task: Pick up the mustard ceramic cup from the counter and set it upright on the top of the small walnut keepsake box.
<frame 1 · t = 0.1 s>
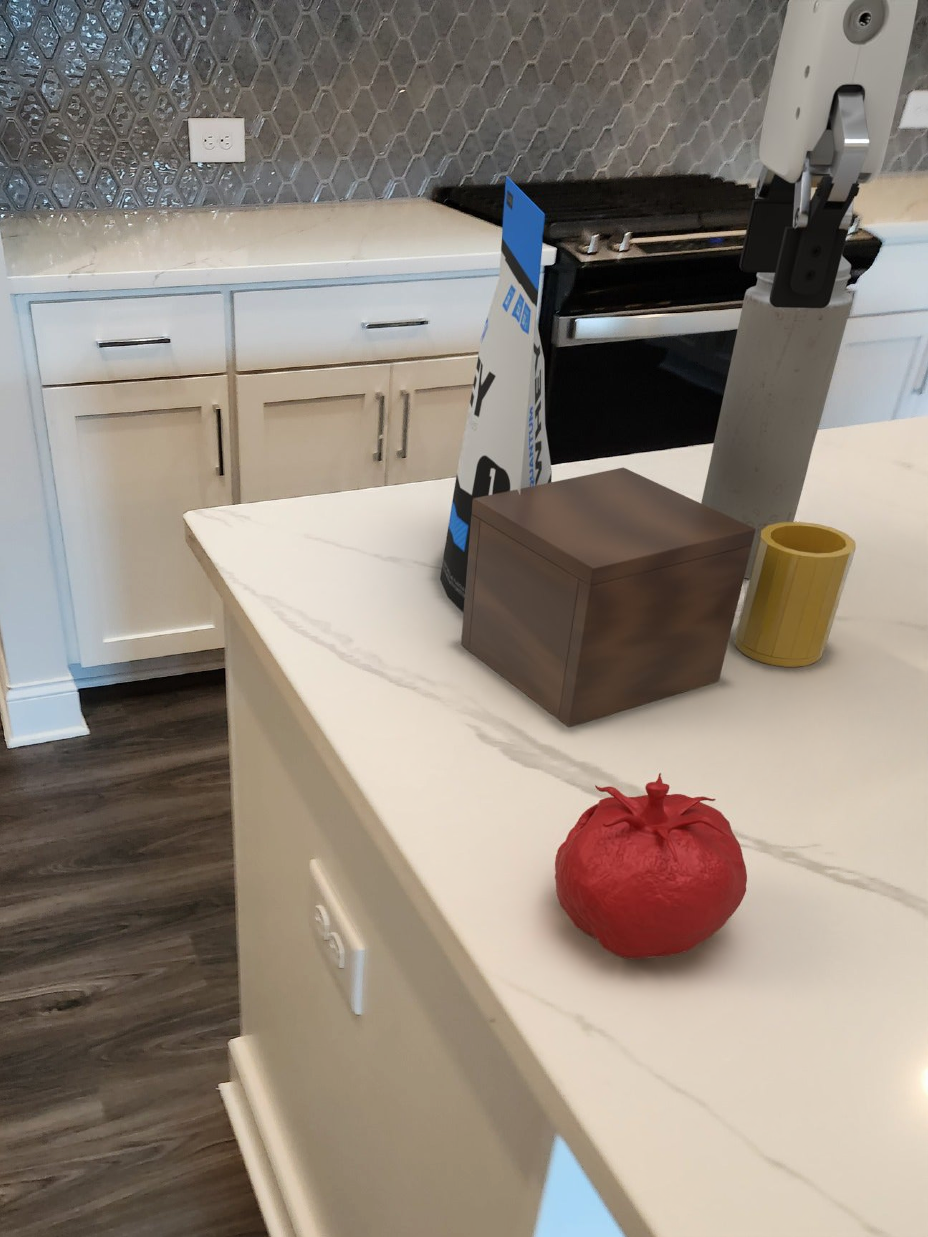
hand: (780, 287, 67), 27 cm above the countertop, tool pointing down, fingers open, 9 cm apart
protein powder: (493, 582, 98), on the countertop, touching walnut keepsake box
cup: (777, 646, 87), on the countertop
pomegranate: (635, 920, 62), on the countertop
walnut keepsake box: (585, 662, 85), on the countertop
thermos bottle: (735, 562, 100), on the countertop
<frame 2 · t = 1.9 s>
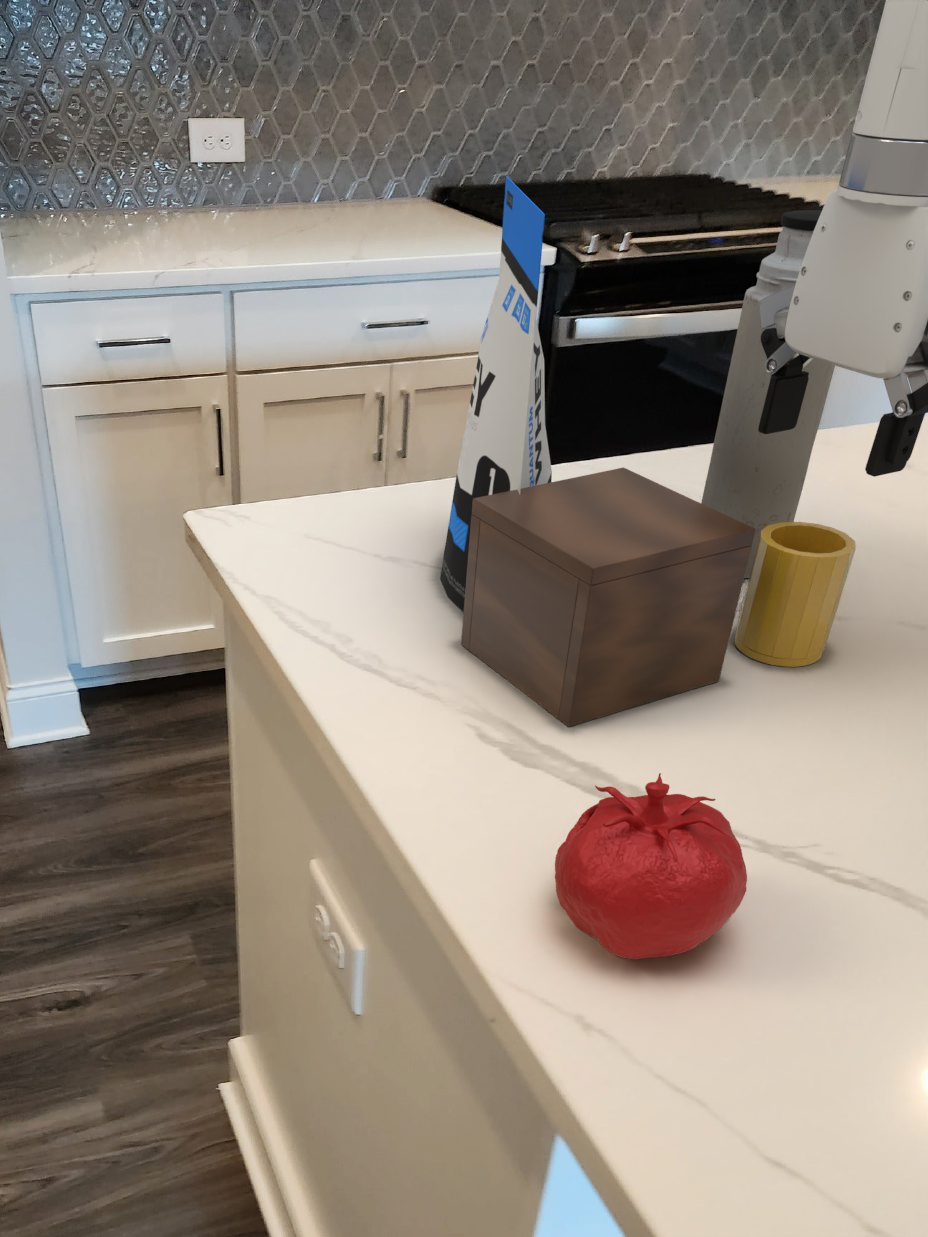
hand: (827, 450, 78), 16 cm above the countertop, tool pointing down, fingers open, 9 cm apart
nothing on the countertop moved.
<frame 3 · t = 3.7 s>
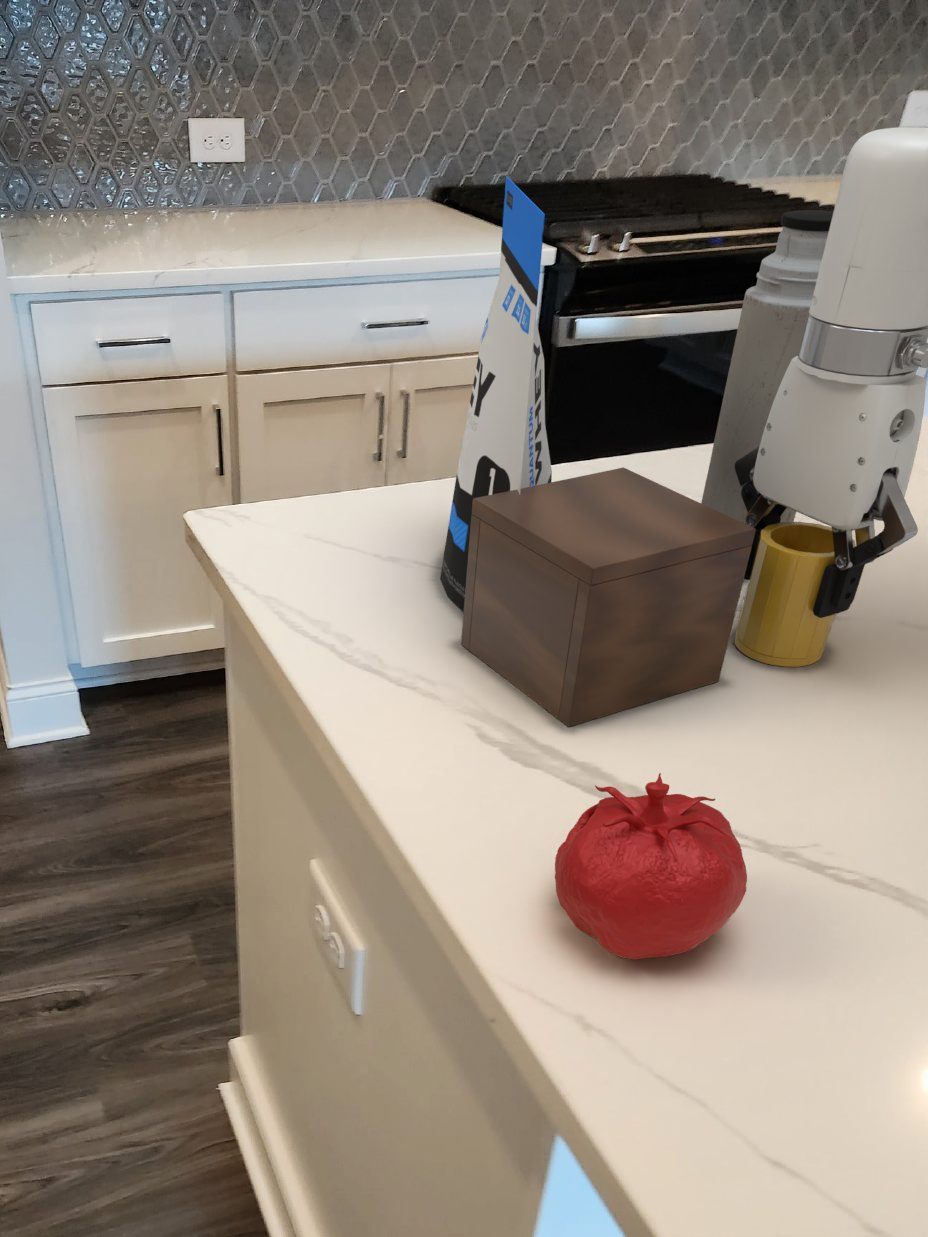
hand: (793, 591, 84), 5 cm above the countertop, tool pointing down, fingers closed on cup, 6 cm apart
cup: (777, 646, 87), on the countertop, touching gripper
everything else where it was.
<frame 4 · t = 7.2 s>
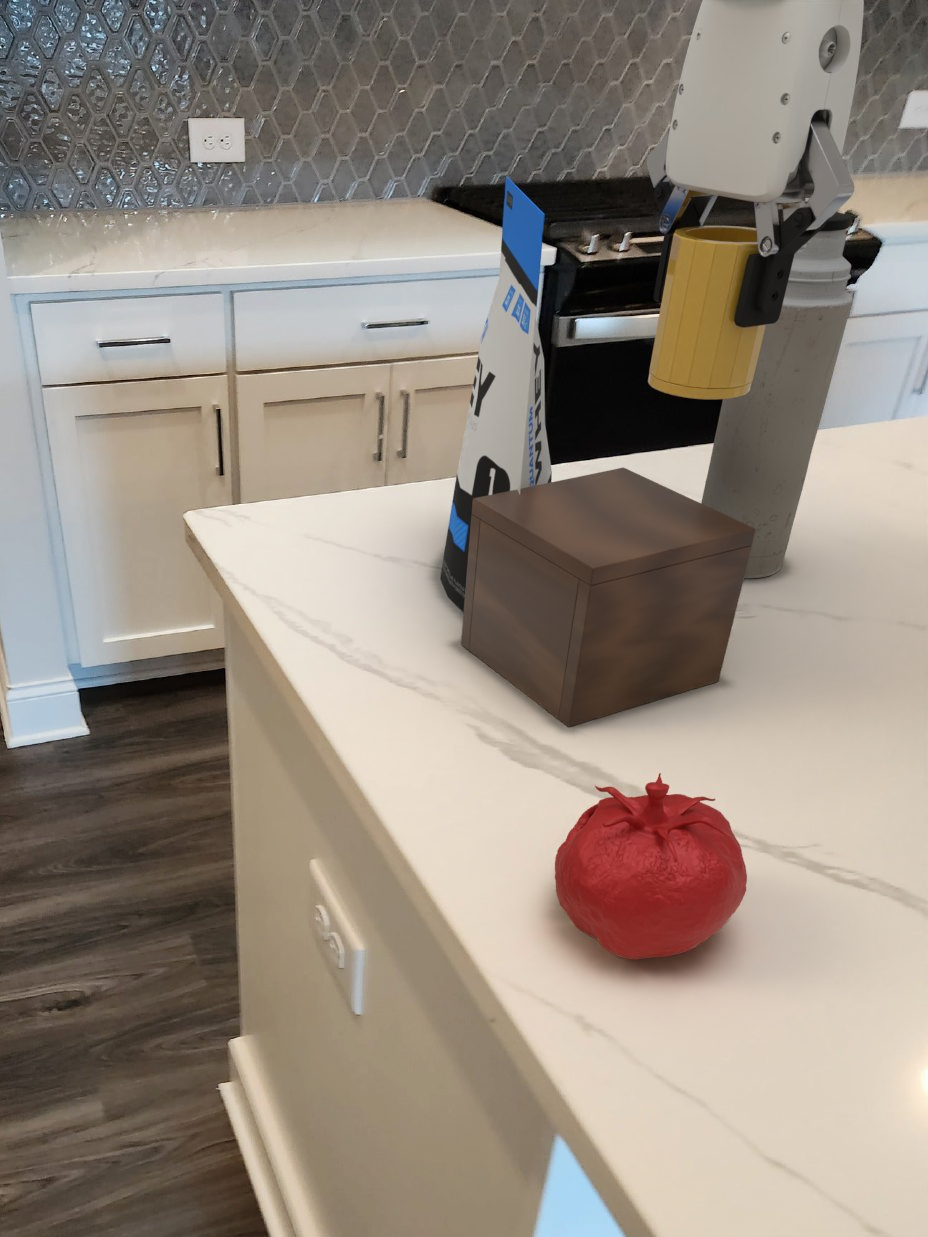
hand: (713, 309, 71), 25 cm above the countertop, tool pointing down, fingers closed on cup, 6 cm apart
cup: (698, 385, 74), point 21 cm above the countertop, touching gripper
everything else where it was.
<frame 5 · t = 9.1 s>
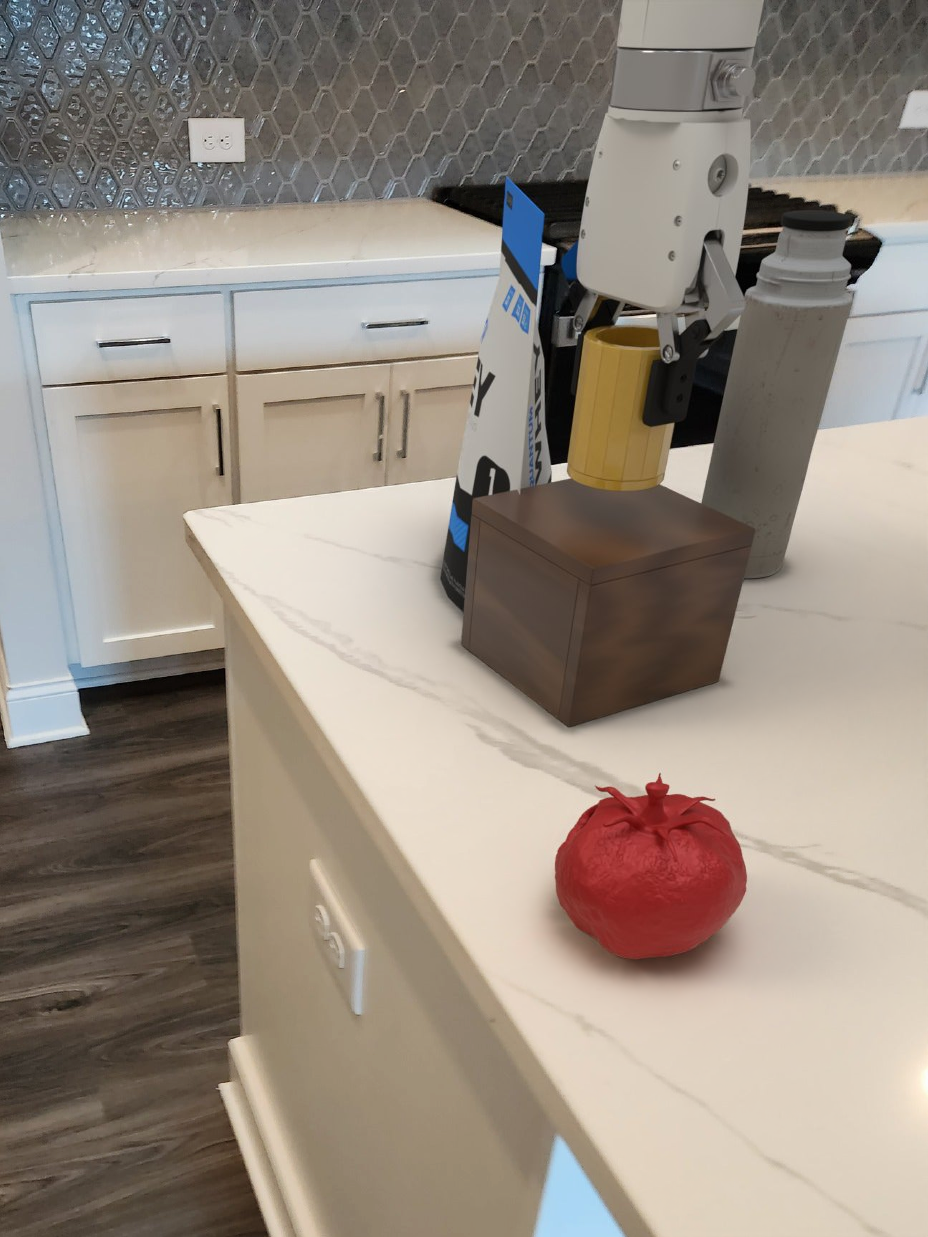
hand: (626, 405, 74), 19 cm above the countertop, tool pointing down, fingers closed on cup, 6 cm apart
cup: (614, 474, 77), point 15 cm above the countertop, touching gripper
everything else where it was.
when the fingers open (17 cm above the countertop, at t = 10.5 s): cup stays where it is, resting on walnut keepsake box.
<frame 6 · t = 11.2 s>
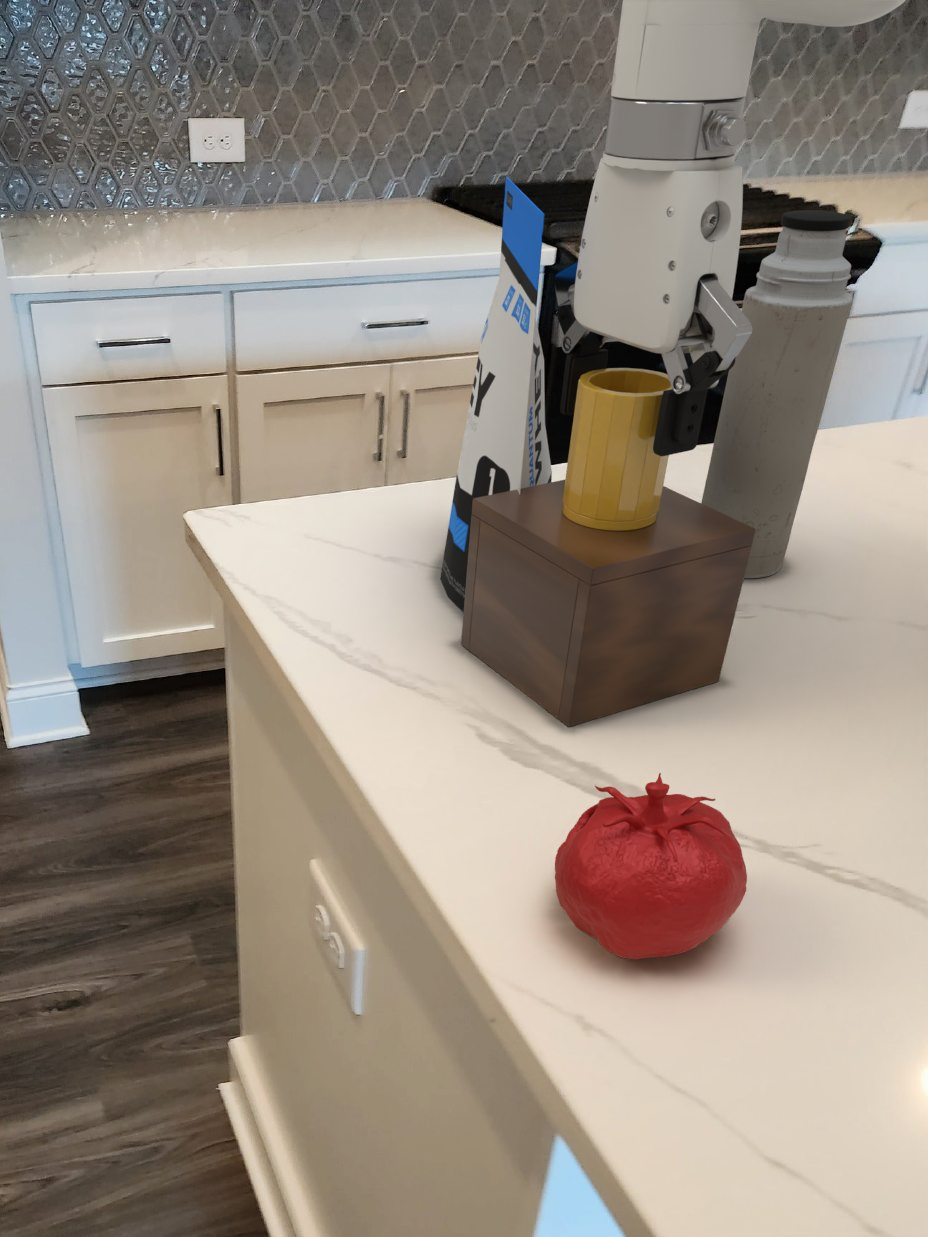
hand: (624, 430, 75), 18 cm above the countertop, tool pointing down, fingers open, 9 cm apart
cup: (609, 512, 78), point 12 cm above the countertop, touching walnut keepsake box
everything else where it was.
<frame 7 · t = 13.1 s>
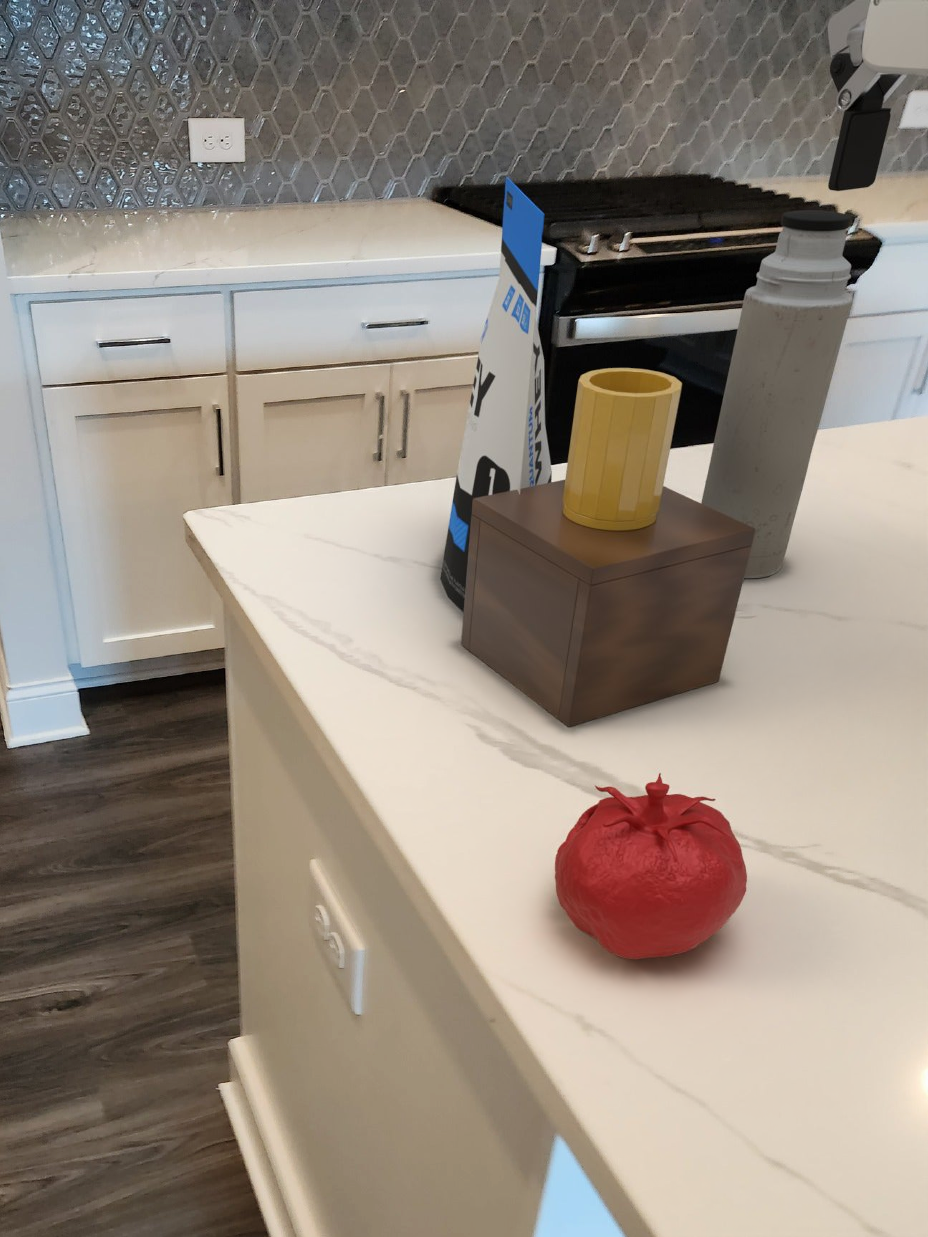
hand: (917, 198, 63), 32 cm above the countertop, tool pointing down, fingers open, 9 cm apart
nothing on the countertop moved.
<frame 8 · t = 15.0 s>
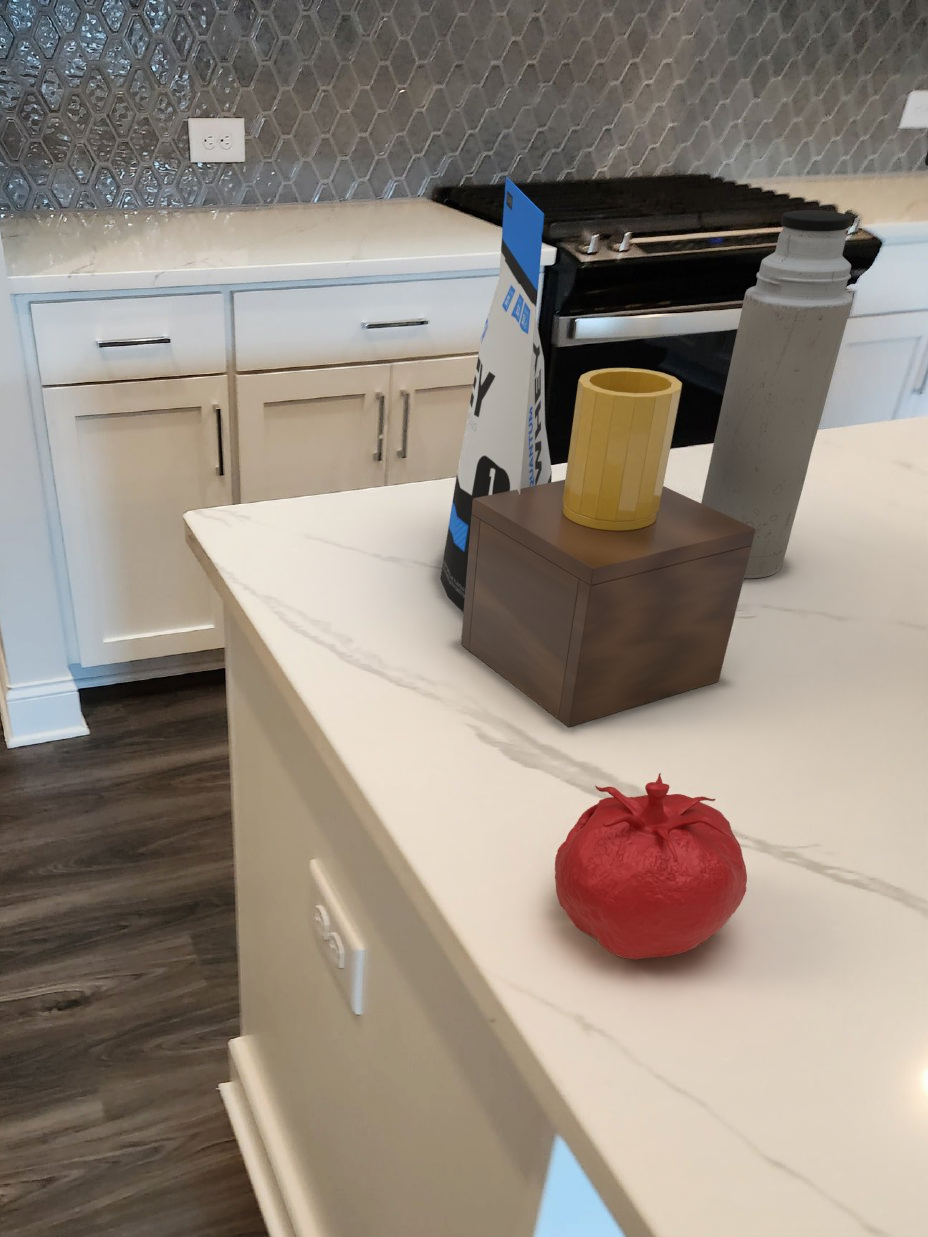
nothing on the countertop moved.
at the end: cup inside the target area on the walnut keepsake box (0.1 cm from its centre), point 12.0 cm above the walnut keepsake box's base; cup tilted 0°; the gripper is holding nothing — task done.
